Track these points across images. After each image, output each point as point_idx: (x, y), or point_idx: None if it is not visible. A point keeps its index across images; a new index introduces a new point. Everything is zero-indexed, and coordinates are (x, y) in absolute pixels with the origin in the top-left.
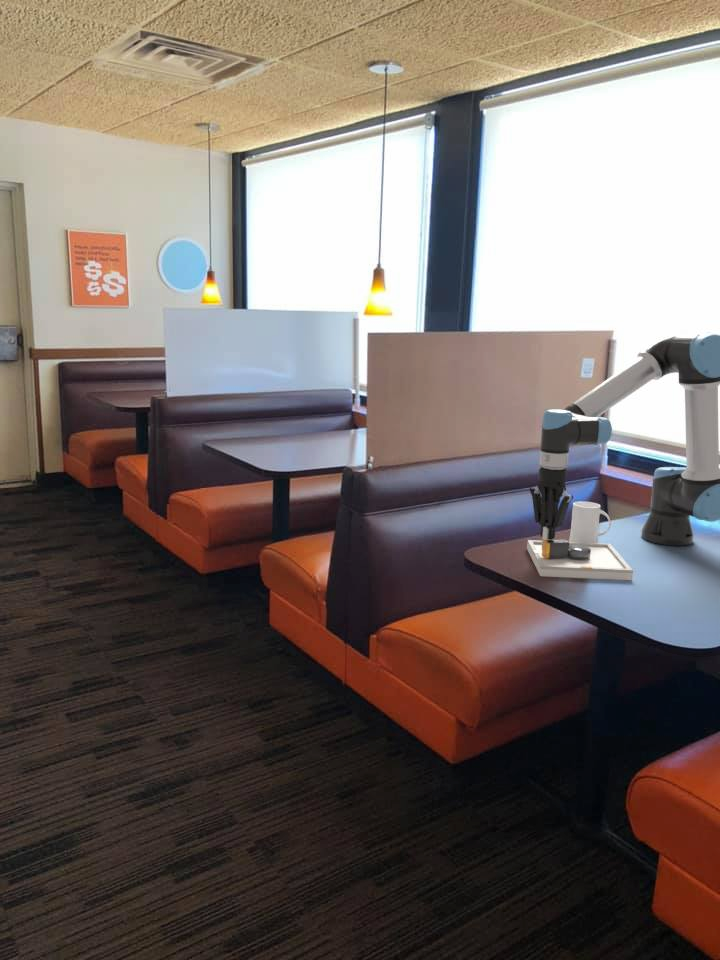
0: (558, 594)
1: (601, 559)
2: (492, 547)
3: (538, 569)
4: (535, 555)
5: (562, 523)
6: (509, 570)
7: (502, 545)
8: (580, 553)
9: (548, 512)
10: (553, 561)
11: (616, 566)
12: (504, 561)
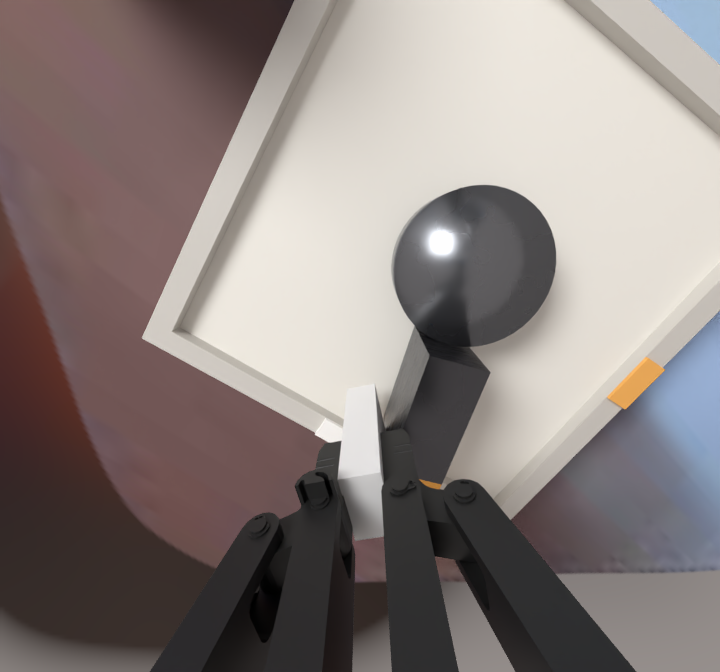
0: (641, 553)
1: (567, 161)
2: (111, 441)
3: None
4: None
5: (493, 503)
6: (381, 544)
7: (92, 388)
8: (532, 311)
9: (335, 630)
10: None
11: (697, 178)
12: (290, 503)
